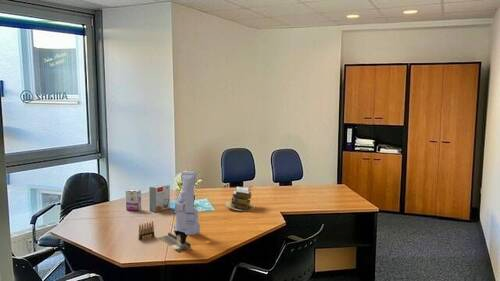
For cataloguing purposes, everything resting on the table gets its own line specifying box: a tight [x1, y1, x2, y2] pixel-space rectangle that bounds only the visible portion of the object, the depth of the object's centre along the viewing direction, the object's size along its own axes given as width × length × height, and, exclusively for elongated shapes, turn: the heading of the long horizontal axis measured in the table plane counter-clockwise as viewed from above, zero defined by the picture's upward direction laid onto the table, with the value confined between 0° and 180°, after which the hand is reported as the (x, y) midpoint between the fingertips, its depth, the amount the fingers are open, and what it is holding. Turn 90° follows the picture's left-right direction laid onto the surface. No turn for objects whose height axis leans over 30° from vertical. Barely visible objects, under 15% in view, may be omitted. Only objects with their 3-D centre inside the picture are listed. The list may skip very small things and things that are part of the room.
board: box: [157, 232, 192, 253], centre depth 262 cm, size 9×26×3 cm, turn 40°
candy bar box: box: [125, 189, 142, 212], centre depth 335 cm, size 11×5×16 cm, turn 76°
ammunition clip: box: [137, 220, 155, 241], centre depth 268 cm, size 11×2×12 cm, turn 131°
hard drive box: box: [148, 183, 171, 213], centre depth 336 cm, size 16×8×20 cm, turn 143°
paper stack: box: [224, 186, 256, 212], centre depth 342 cm, size 25×25×17 cm
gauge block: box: [177, 235, 187, 246], centre depth 256 cm, size 4×4×6 cm
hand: (181, 242), depth 256 cm, fingers closed on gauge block, 4 cm apart
